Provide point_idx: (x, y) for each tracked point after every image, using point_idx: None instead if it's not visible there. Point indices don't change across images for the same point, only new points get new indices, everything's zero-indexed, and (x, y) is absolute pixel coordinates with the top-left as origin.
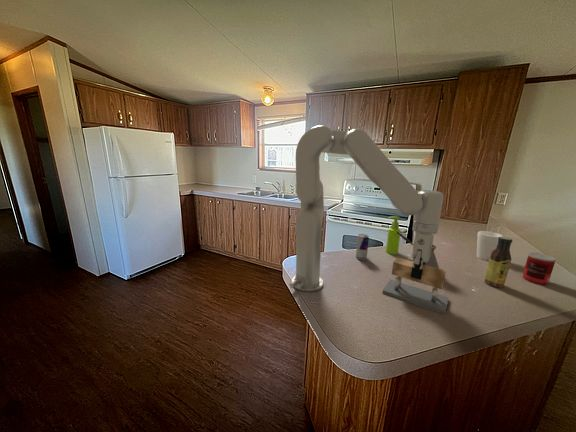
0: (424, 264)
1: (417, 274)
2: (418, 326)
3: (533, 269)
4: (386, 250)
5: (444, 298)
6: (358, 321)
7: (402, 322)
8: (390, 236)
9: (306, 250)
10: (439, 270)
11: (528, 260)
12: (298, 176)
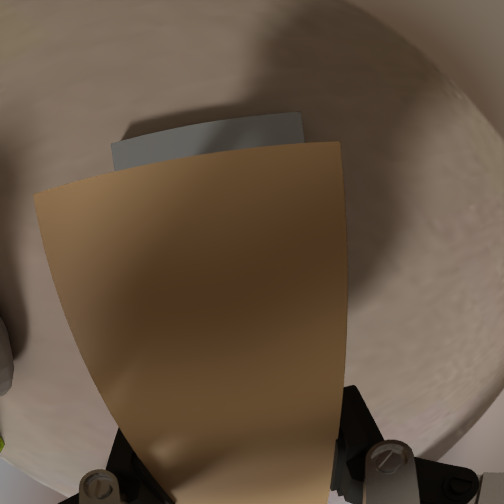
0: (140, 463)
1: (365, 410)
2: (459, 199)
3: None
4: (1, 450)
5: (147, 153)
6: (498, 339)
7: (466, 253)
8: None
9: None
10: (137, 285)
11: None
12: None
